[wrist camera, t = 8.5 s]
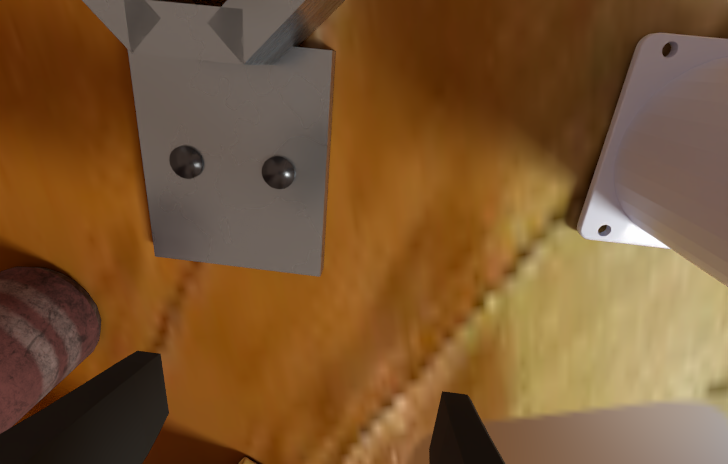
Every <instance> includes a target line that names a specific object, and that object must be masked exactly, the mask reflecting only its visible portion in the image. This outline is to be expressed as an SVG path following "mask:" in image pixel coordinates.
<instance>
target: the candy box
mask: <svg viewBox="0 0 728 464" xmlns="http://www.w3.org/2000/svg"><path fill="white" fill-rule="evenodd" d="M238 464H257V463H255V462H253V461H252V460H250V459H248V458H247V457H244V458H243V459H242V460H241V461H240V462H239V463H238Z"/></svg>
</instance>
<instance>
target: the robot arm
mask: <svg viewBox="0 0 728 464" xmlns="http://www.w3.org/2000/svg"><path fill="white" fill-rule="evenodd" d="M667 43H670V45H671V51H670V53H669V54H668V55H667V56H666V57H664V56H663V54H662V49H663V47H664V45H665V44H667ZM603 225H607V227H606V229H605V231H603V232H600V233H598V229H599V228H600V227H601V226H603ZM577 231H578V233H579V234H580V235H581V236H582V237H583V238H585V239H589V240H598V241H606V242H615V243H624V244H632V245H641V246H650V247H658V248H667V249H672V250H674V251H675V252H677V253H678V254H680V255H681V256H683V257H684V258H686V259H687V260H688V261H690V262H691V263H693V264H694V265H696V266H697V267H699V268H700V269H702V270H703V271H705V272H706V273H708V274H709V275H711V276H712V277H714V278H715V279H717V280H718V281H720V282H721V283H723V284H724V285H726V286H727V287H728V39H724V38H713V37H702V36H692V35H681V34H670V33H653V34H648V35H646V36H644V37H643V38H642V39H641V40H640V41H639V42H638V44H637V46H636V48H635V51H634V54H633V57H632V60H631V63H630V67H629V70H628V73H627V76H626V79H625V82H624V85H623V88H622V91H621V94H620V97H619V100H618V103H617V106H616V109H615V112H614V115H613V118H612V121H611V124H610V127H609V130H608V133H607V136H606V139H605V142H604V145H603V148H602V151H601V154H600V157H599V160H598V163H597V166H596V169H595V172H594V176H593V179H592V182H591V185H590V188H589V191H588V194H587V197H586V200H585V203H584V206H583V209H582V212H581V215H580V218H579V221H578V224H577ZM168 414H169V411H168V404H167V396H166V389H165V382H164V375H163V368H162V361H161V354H158V353H150V352H143V351H136V352H135V353H133V354H131V355H129V356H128V357H126V358H124V359H123V360H121V361H120V362H118V363H116V364H115V365H113V366H111V367H110V368H108V369H107V370H105V371H104V372H102V373H100V374H99V375H97V376H96V377H94V378H92V379H91V380H89V381H88V382H86V383H84V384H83V385H81V386H80V387H78V388H76V389H75V390H73V391H72V392H70V393H68V394H67V395H65V396H63V397H62V398H60V399H59V400H57V401H55V402H54V403H52V404H50V405H49V406H47V407H46V408H44V409H42V410H41V411H39V412H37V413H36V414H34V415H32V416H30V417H29V418H27V419H25V420H23V421H22V422H20V423H18V424H17V425H15V426H13V427H11V428H10V429H8V430H6V431H4V432H3V433H1V434H0V464H142V463H143V461H144V459H145V458H146V456H147V455H148V453H149V451H150V449H151V447H152V445H153V444H154V442H155V440H156V438H157V436H158V434H159V432H160V430H161V428H162V426H163V424H164V422H165V420H166V418H167V416H168ZM429 450H430V451H429V452H430V464H505V462H504V461H503V459H502V457H501V456H500V454H499V452H498V450H497V448H496V447H495V445H494V443H493V441H492V440H491V438H490V436H489V434H488V432H487V430H486V428H485V426H484V425H483V423H482V421H481V419H480V417H479V415H478V413H477V411H476V409H475V407H474V405H473V403H472V401H471V399H470V398H469V396H468V395H465V394H458V393H450V392H443V391H442V395H441V400H440V404H439V409H438V413H437V418H436V422H435V427H434V431H433V435H432V440H431V445H430V449H429Z"/></svg>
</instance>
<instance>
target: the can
mask: <svg viewBox="0 0 728 464" xmlns="http://www.w3.org/2000/svg"><path fill="white" fill-rule="evenodd" d="M100 329H101V318H100V315H99V311H98V308H97V306H96V304H95V303H94V301H93V300H92V298H91V297H90V295H89V294H88V293H87V292H86V291H85V290H84V289H83V288H82V287H81V286H80V285H79V284H78V283H77V282H76V281H74V280H72V279H70V278H69V277H67V276H65V275H64V274H62V273H60V272H57V271H54V270H50V269H47V268H40V267H14V268H10V269H7V270H4V271H1V272H0V434H1V433H3V432H4V431H6V430H8V429H10V428H11V427H12V426H13V425H14V424H15V423H16V422H18V421H19V420H20V419H21V418H22V417H23V416H24V415H25V414H26V413H27V412H28V411H29V410H30V409H32V408H33V407H34V406H35V405H36V404H37V403H38V402H39V401H40V400H41V399H42V398H43V397H44V396H46V395H47V394H48V393H49V392H50V391H51V390H52V389H53V388H54V387H55V386H56V385H57V384H58V383H60V382H61V381H62V380H63V379H64V378H65V377H66V376H67V375H68V374H69V373H70V372H71V371H72V370H74V369H75V368H76V367H77V366H78V365H79V364H80V363H81V362H82V361H83V360H84V359H85V358H86V357H88V356H89V355H90V354H91V353H92V352H93V351H94V349H95V347H96V345H97V343H98V341H99V337H100Z"/></svg>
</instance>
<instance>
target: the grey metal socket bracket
mask: <svg viewBox="0 0 728 464" xmlns="http://www.w3.org/2000/svg"><path fill="white" fill-rule="evenodd" d="M82 1H83V2H84V3H85V4H86V5H87V6H88V7H89V8H90V9H91V10H92V11H93V12H94V13H95V15H96V16H97V17H98V18H99V19H100V20H101V21H102V22H103V23H104V24H105V25H106V26H107V27H108V29H109V30H110V31H111V32H112V33H113V34H114V35H115V36H116V37H117V38H118V39H119V40H120V41H121V42H122V44H123V45H124V46H125V47H126V48H127V49H128V56H129V63H130V71H131V78H132V86H133V93H134V101H135V108H136V116H137V123H138V131H139V138H140V146H141V154H142V161H143V169H144V176H145V184H146V191H147V199H148V206H149V214H150V221H151V229H152V236H153V244H154V252H155V256H157V257H165V258H173V259H181V260H189V261H198V262H206V263H214V264H222V265H230V266H238V267H246V268H255V269H263V270H271V271H279V272H287V273H295V274H303V275H312V276H321V273H322V270H323V263H324V246H325V228H326V211H327V193H328V176H329V158H330V141H331V123H332V106H333V88H334V71H335V53H336V51H333V50H323V49H313V48H303V47H298V46H299V45H300V44H301V43H302V42H303V41H304V40H305V39H306V38H307V37H308V36H309V35H310V34H311V33H312V32H313V31H314V30H315V29H316V28H317V27H318V26H319V25H320V24H321V23H323V22H324V21H325V20H326V19H327V18H328V17H329V16H330V15H331V14H332V13H333V12H334V11H335V10H336V9H337V8H338V7H339V6H340V5H341V4H342V3H343V2H344V1H345V0H227V1H226V2H225V3H224V4H223V5H222V6H221V7H217V6H206V5H196V4H195V2H194V1H193V0H82Z"/></svg>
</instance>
